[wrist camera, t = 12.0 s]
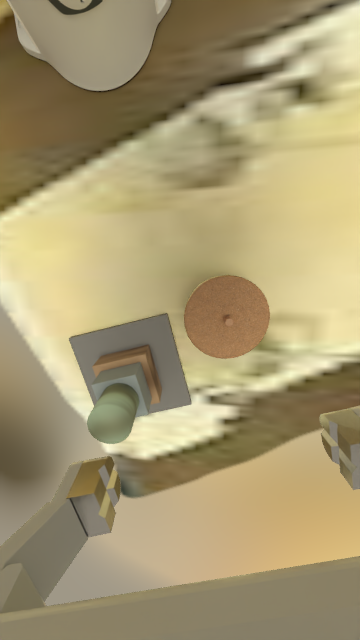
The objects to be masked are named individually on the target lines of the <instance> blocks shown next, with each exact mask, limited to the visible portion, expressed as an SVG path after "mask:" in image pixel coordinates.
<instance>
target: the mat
mask: <svg viewBox="0 0 360 640" xmlns="http://www.w3.org/2000/svg"><path fill="white" fill-rule="evenodd" d="M69 341H70V343H71V346H72V349H73V351H74V354H75V357H76V359H77V362H78V364H79V367H80V370H81V372H82V375H83V378H84V380H85V383H86V385H87V388H88V391H89V393H90V396H91V398H92V401H93V404H94V406H95V405H96V403H97V399H96V396H95V394H94V391H93V388H92V386H91V385H92V383H93V382H94V380H95V379H96V376H95V373H94V370H93V368H92V366H93V365H94V364H95V363H96V361H97V360H98V359H99V358H100V356H103V355H107V354H111V353H115V352H119V351H124V350H128V349H132V348H136V347H140V346H145V345H149V347H150V350H151V353H152V357H153V360H154V363H155V367H156V370H157V373H158V377H159V380H160V383H161V387H162V393H161V399H160V403H155V404H151V405H150V409H149V414H150V413H154V412H159V411H163V410H168V409H173V408H177V407H182V406H186V405H191V399H190V396H189V392H188V388H187V385H186V381H185V377H184V374H183V370H182V366H181V363H180V359H179V355H178V352H177V348H176V344H175V341H174V337H173V333H172V330H171V326H170V323H169V319H168V315H167V313H166V314H162V315H158V316H154V317H150V318H146V319H142V320H138V321H134V322H130V323H126V324H122V325H118V326H114V327H110V328H106V329H102V330H98V331H94V332H90V333H86V334H82V335H78V336H73V337H70V338H69Z"/></svg>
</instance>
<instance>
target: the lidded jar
mask: <svg viewBox="0 0 360 640" xmlns="http://www.w3.org/2000/svg"><path fill="white" fill-rule="evenodd" d="M269 319H270V312H269V306H268V303H267V300H266V298H265V296H264V294H263V293H262V291H261V290H260V289H259V288H258V287H257V286H256V285H255V284H253V283H252V282H250V281H248V280H246V279H244V278H241V277H237V276H230V275H224V276H216V277H213V278H210V279H207V280H206V281H204V282H202V283H201V284H200V285H199V286H197V287H196V289H195V290H194V291H193V292H192V294H191V295H190V297H189V299H188V302H187V305H186V308H185V314H184V323H185V328H186V332H187V334H188V337H189V338H190V340H191V342H192V343H193V344H194V345H195V346H196V347H197V348H198V349H199V350H200V351H202V352H203V353H205V354H207V355H210V356H212V357H216V358H234V357H238V356H241V355H244V354H245V353H247V352H249V351H251V350H252V349H253V348H255V347H256V346H257V345H258V344H259V342H260V341H261V340H262V339H263V337H264V335H265V333H266V331H267V328H268V325H269Z"/></svg>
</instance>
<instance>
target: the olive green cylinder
mask: <svg viewBox="0 0 360 640" xmlns="http://www.w3.org/2000/svg"><path fill="white" fill-rule="evenodd" d="M138 406H139V396H138V394H137V392H136V391H135V390H134V389H133V388H132V387H131V386H129V385H127V384H123V383H115V384H112V385H109V386H108V387H107V388H106V389H105V390H104V391H103V393H102V395H101V396H100V398H99V400H98V401H97V403H96V405H95V406H94V408H93V410H92V411H91V413H90V415H89V417H88V421H87V425H88V429H89V432H90V433H91V435H92V436H93V437H94V438H96V439H97V440H99V441H101V442H103V443H107V444H115V443H119V442H122V441H123V440H125V439H126V438H127V437H128V436H129V434H130V432H131V429H132V426H133V422H134V419H135V416H136V412H137V409H138Z"/></svg>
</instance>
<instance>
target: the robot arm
mask: <svg viewBox="0 0 360 640" xmlns="http://www.w3.org/2000/svg"><path fill="white" fill-rule="evenodd" d="M7 2H8V3H9V5H10V7H11V8H12V10H13V12H14V16H15V22H16V28H17V34H18V38H19V41H20V43H21V45H22V46H23V48H24V49H25V51H26V52H27V53H29V54H30V55H32V56H34V57H36V58H39V59H41V60H44V61H46V62H48V63H49V64H50V65H52V66H53V67H54V68H55V69H56V70H57V71H58V72H59V73H60V74H61V75H62V76H63V77H64V78H65V79H67V80H68V81H70V82H71V83H73V84H75V85H76V86H79V87H81V88H84V89H87V90H93V91H106V90H111V89H114V88H117V87H119V86H121V85H123V84H125V83H126V82H128V81H129V80H130V79H131V78H132V77H133V76H135V74H136V73H137V72H138V71H139V70H140V68H141V67H142V65H143V64H144V62H145V60H146V58H147V56H148V54H149V52H150V49H151V46H152V42H153V38H154V34H155V31H156V28H157V25H158V24H159V22H160V21H161V20H162V18H163V17H164V15H165V14H166V12H167V11H168V9H169V7H170V5H171V0H7ZM320 424H321V425H322V427H323V428H324V430H323V431H322V433H321V436H322V442H323V445H324V448H325V450H326V452H327V454H328V455H329V457H330V458H331V460H332V461H333V462H335V463H337V464H339V465H340V472H341V474H342V475H343V476H344V478H345V479H346V480H347V482H348V483H349V485H350V486H351V487H352V488H353V490H355V489H360V406H357V407H353V408H348V409H345V410H340V411H335V412H330V413H325V414H321V415H320ZM113 467H114V462H113V459H112V457H110V456H107V457H102V458H95V459H89V460H85V461H79V462H74V463H72V464H71V465H70V466H69V468H68V470H67V472H66V474H65V476H64V478H63V480H62V482H61V484H60V486H59V488H58V490H57V491H56V493H55V496H54V497H53V499H52V501H51V502H49V503H46V504H45V505H44V506H43V507H42V508H41V509H40V510H39V511H38V512H37V513H36V514H35V515H34V516H32V517H31V518H30V519H29V520H28V521H27V522H26V523H25V524H24V525H23V526H22V527H21V528H20V529H19V530H17V531H16V533H14V534H13V535H12V536H11V537H10V538H9V539H8V540H7V541H6V542H5V543H3V545H1V546H0V640H360V556H359V557H352V558H345V559H340V560H333V561H327V562H321V563H314V564H309V565H302V566H296V567H290V568H284V569H277V570H271V571H265V572H259V573H253V574H246V575H240V576H234V577H227V578H221V579H215V580H208V581H202V582H196V583H189V584H184V585H177V586H170V587H164V588H158V589H151V590H146V591H139V592H133V593H127V594H120V595H114V596H108V597H101V598H95V599H89V600H83V601H76V602H71V603H64V604H58V605H51V606H46V604H45V600H46V599H47V597H48V596H49V594H50V593H51V592H52V590H53V589H54V587H55V586H56V584H57V583H58V581H59V580H60V579H61V577H62V576H63V574H64V573H65V571H66V570H67V568H68V567H69V566H70V564H71V563H72V561H73V560H74V558H75V557H76V555H77V554H78V553H79V551H80V550H81V548H82V547H83V545H84V544H85V542H86V541H87V540H88V538H87V537H92V536H97V535H101V534H106V533H111V530H112V526H113V522H114V518H115V514H116V512H115V510H114V506H115V505H116V503H117V502H118V501H119V498H120V493H121V483H120V477H119V475H118V472H116V471H115V470H113Z"/></svg>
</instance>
